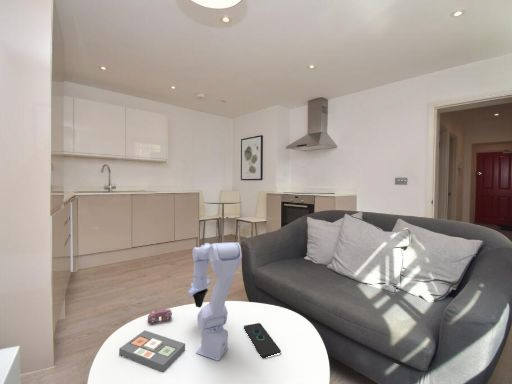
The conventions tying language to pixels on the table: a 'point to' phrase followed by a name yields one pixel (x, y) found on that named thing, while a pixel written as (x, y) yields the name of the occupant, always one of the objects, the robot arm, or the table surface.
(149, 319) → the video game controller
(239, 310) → the table surface
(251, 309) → the table surface
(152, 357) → the keypad
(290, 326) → the table surface
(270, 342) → the smart home device
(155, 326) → the table surface
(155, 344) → the white key
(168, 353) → the sage key
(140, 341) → the terracotta key
